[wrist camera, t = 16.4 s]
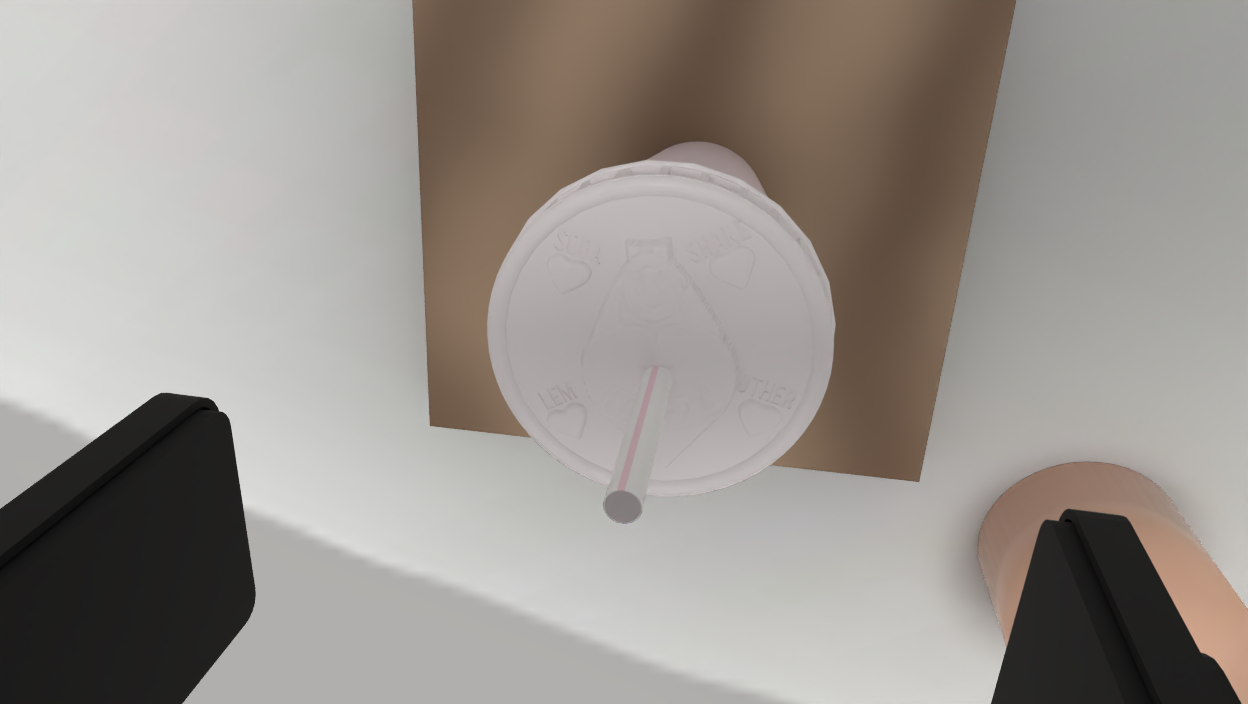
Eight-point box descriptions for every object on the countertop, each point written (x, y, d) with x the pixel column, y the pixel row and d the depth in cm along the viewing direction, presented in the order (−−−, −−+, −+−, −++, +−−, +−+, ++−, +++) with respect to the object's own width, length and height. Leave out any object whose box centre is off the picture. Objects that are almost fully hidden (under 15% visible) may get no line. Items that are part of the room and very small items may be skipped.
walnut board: (1016, -73, 23) (1030, -74, 22) (912, 456, 29) (919, 481, 28) (428, -101, 25) (408, -104, 24) (445, 404, 31) (429, 425, 30)
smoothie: (593, 322, 28) (436, 651, 15) (568, 97, 25) (354, 259, 12) (818, 315, 26) (857, 663, 14) (815, 78, 24) (859, 236, 11)
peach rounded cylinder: (1206, 474, 28) (1309, 601, 23) (1151, 633, 31) (1232, 782, 25) (999, 450, 29) (1050, 568, 24) (960, 608, 31) (999, 748, 26)
